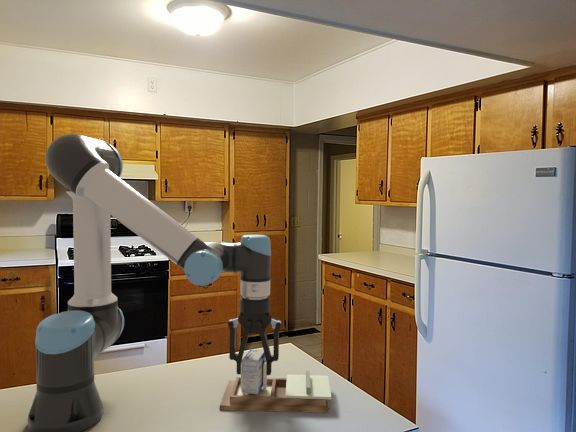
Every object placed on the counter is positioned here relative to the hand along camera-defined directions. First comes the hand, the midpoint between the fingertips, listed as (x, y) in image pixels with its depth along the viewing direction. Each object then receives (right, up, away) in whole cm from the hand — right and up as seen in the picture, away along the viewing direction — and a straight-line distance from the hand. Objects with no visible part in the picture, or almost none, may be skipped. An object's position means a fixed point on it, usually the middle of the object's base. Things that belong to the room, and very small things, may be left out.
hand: (253, 386), depth 113 cm
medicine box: (0, 0, 0) cm, 0 cm away
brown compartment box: (+5, -3, 0) cm, 6 cm away
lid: (+14, 0, 0) cm, 14 cm away
